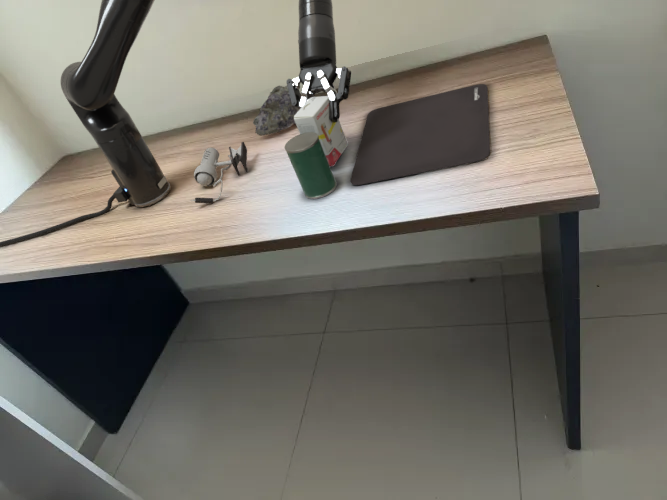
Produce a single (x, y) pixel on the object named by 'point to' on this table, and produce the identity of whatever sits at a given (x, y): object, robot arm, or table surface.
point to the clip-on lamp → (209, 162)
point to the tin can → (311, 165)
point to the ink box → (322, 127)
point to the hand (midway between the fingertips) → (320, 123)
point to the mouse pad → (424, 135)
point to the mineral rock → (276, 112)
